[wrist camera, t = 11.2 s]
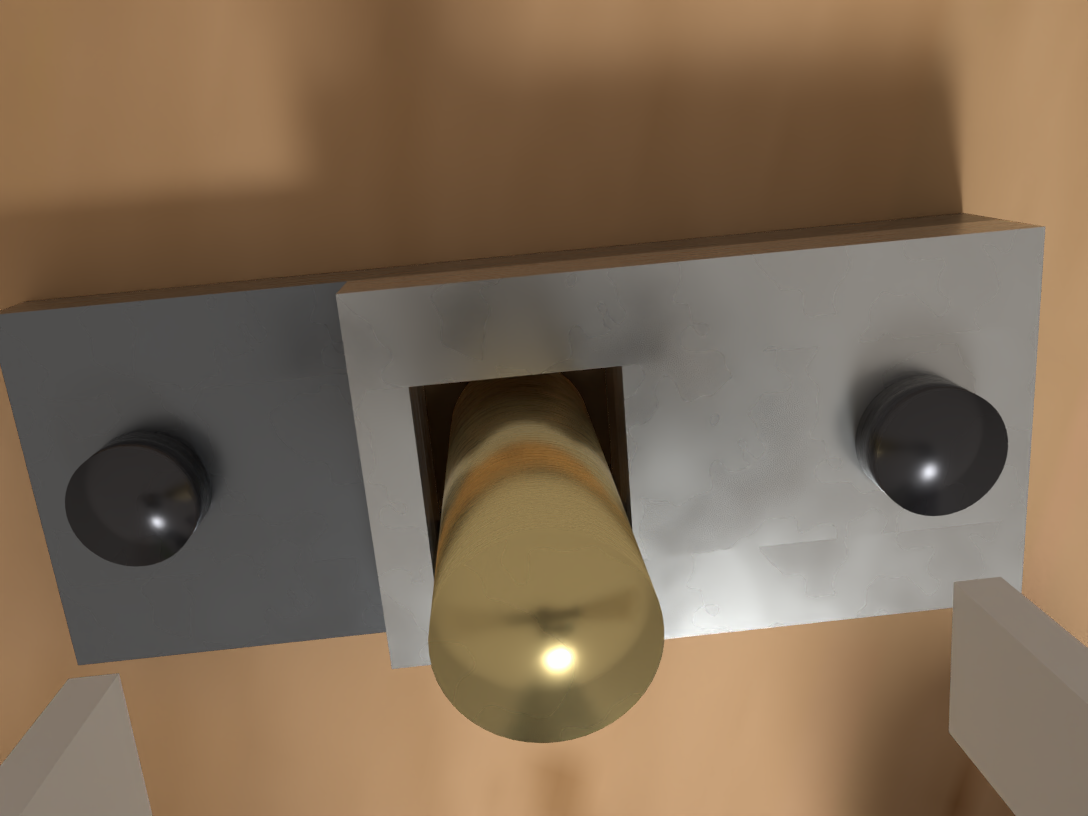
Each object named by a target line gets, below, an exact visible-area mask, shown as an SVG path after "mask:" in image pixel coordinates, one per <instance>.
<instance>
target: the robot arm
mask: <svg viewBox="0 0 1088 816" xmlns="http://www.w3.org/2000/svg"><path fill="white" fill-rule="evenodd" d="M949 733H950V734H951V736H952V737H953V738H954V739H955V741H956V742H957V743H958V744H959V746H960V747H961V748H962V749H963V751H964V752H965V753H966V754H967V756H968V757H969V758H970V759H971V761H972V762H973V763H974V764H975V766H976V767H977V768H978V769H979V771H980V772H981V773H982V774H983V776H984V777H985V778H986V779H987V781H988V782H989V783H990V784H991V786H992V787H993V788H994V789H995V791H996V792H997V793H998V794H999V796H1000V797H1001V798H1002V799H1003V801H1004V802H1005V803H1006V804H1007V806H1008V807H1009V808H1010V809H1011V810H1012V812H1013V813H1014V814H1015V815H1016V816H1088V648H1087V647H1086V646H1084V645H1083V644H1082V643H1081V642H1080V641H1078V640H1077V639H1076V638H1075V637H1074V636H1072V635H1071V634H1070V633H1069V632H1067V631H1066V630H1065V629H1064V628H1063V627H1061V626H1060V625H1059V624H1058V623H1056V622H1055V621H1054V620H1053V619H1052V618H1050V617H1049V616H1048V615H1047V614H1046V613H1044V612H1043V611H1042V610H1041V609H1039V608H1038V607H1037V606H1036V605H1035V604H1033V603H1032V602H1031V601H1030V600H1028V599H1027V598H1026V597H1025V596H1024V595H1022V594H1021V593H1020V592H1019V591H1018V590H1016V589H1015V588H1014V587H1013V586H1011V585H1010V584H1009V583H1008V582H1007V581H1005V580H1004V579H1003V578H1002V577H993V578H984V579H975V580H966V581H957V582H954V588H953V618H952V648H951V679H950V709H949ZM0 816H153V815H152V811H151V807H150V803H149V798H148V794H147V790H146V786H145V781H144V777H143V773H142V769H141V764H140V760H139V756H138V752H137V747H136V743H135V739H134V735H133V730H132V726H131V722H130V717H129V713H128V709H127V705H126V700H125V696H124V692H123V688H122V683H121V679H120V675H119V673H116V674H107V675H98V676H89V677H80V678H71V679H68V680H67V681H66V683H65V684H64V685H63V687H62V688H61V689H60V690H59V692H58V693H57V694H56V695H55V697H54V698H53V699H52V701H51V702H50V703H49V704H48V706H47V707H46V708H45V709H44V711H43V712H42V713H41V715H40V716H39V717H38V718H37V720H36V721H35V722H34V723H33V725H32V726H31V727H30V729H29V730H28V731H27V732H26V734H25V735H24V736H23V737H22V739H21V740H20V741H19V743H18V744H17V745H16V746H15V748H14V749H13V750H12V751H11V753H10V754H9V755H8V757H7V758H6V759H5V760H4V762H3V763H2V764H1V765H0Z"/></svg>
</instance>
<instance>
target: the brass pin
mask: <svg viewBox="0 0 1088 816" xmlns="http://www.w3.org/2000/svg"><path fill="white" fill-rule="evenodd" d="M663 646H664V621H663V614H662V611H661V607H660V604H659V600H658V598H657V595H656V592H655V590H654V587H653V584H652V582H651V579H650V576H649V574H648V571H647V568H646V566H645V563H644V560H643V558H642V555H641V552H640V550H639V547H638V544H637V542H636V539H635V536H634V534H633V531H632V528H631V526H630V523H629V520H628V518H627V515H626V513H625V510H624V507H623V505H622V502H621V499H620V497H619V494H618V491H617V489H616V486H615V483H614V481H613V478H612V475H611V473H610V470H609V467H608V465H607V462H606V459H605V457H604V454H603V451H602V449H601V446H600V443H599V441H598V438H597V435H596V433H595V430H594V427H593V425H592V422H591V419H590V417H589V414H588V411H587V409H586V406H585V404H584V401H583V399H582V397H581V395H580V393H579V392H578V390H577V389H576V387H575V386H574V385H573V384H572V383H571V382H570V381H569V380H568V379H567V378H566V377H565V376H564V375H562V374H561V373H559V372H555V373H545V374H535V375H525V376H514V377H504V378H494V379H484V380H474V381H471V382H470V383H469V384H468V385H467V386H466V387H465V389H464V390H463V391H462V393H461V394H460V396H459V398H458V400H457V402H456V405H455V408H454V411H453V415H452V422H451V431H450V440H449V449H448V459H447V468H446V477H445V486H444V495H443V504H442V514H441V523H440V532H439V541H438V550H437V559H436V569H435V578H434V587H433V596H432V605H431V614H430V624H429V635H428V647H429V657H430V661H431V666H432V669H433V672H434V675H435V677H436V680H437V682H438V684H439V686H440V687H441V689H442V691H443V693H444V694H445V696H446V697H447V698H448V699H449V701H450V702H451V703H452V705H453V706H454V707H455V708H456V709H457V710H458V711H459V712H460V713H461V714H463V715H464V716H465V717H466V718H468V719H469V720H470V721H472V722H473V723H475V724H476V725H478V726H480V727H481V728H483V729H485V730H487V731H489V732H492V733H494V734H496V735H499V736H502V737H506V738H509V739H512V740H518V741H524V742H534V743H549V742H560V741H566V740H572V739H575V738H579V737H582V736H586V735H588V734H591V733H593V732H595V731H598V730H600V729H602V728H604V727H605V726H607V725H609V724H611V723H613V722H614V721H615V720H617V719H618V718H620V717H621V716H622V715H624V714H625V713H626V712H627V711H628V710H629V709H630V708H631V707H632V706H634V705H635V704H636V702H637V701H638V700H639V699H640V698H641V696H642V695H643V694H644V693H645V691H646V690H647V688H648V687H649V685H650V683H651V682H652V680H653V678H654V676H655V674H656V671H657V669H658V667H659V663H660V660H661V657H662V652H663Z"/></svg>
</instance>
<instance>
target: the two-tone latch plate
mask: <svg viewBox="0 0 1088 816" xmlns="http://www.w3.org/2000/svg"><path fill="white" fill-rule="evenodd" d="M1044 239H1045V226H1039V225H1033V224H1026V223H1020V222H1014V221H1008V220H1002V219H996V218H990V217H984V216H978V215H972V214H966V213H959V214H949V215H938V216H928V217H917V218H906V219H896V220H885V221H875V222H864V223H853V224H843V225H832V226H822V227H811V228H800V229H790V230H779V231H769V232H758V233H748V234H737V235H726V236H716V237H705V238H695V239H684V240H673V241H663V242H652V243H642V244H631V245H620V246H610V247H599V248H589V249H578V250H567V251H557V252H546V253H536V254H525V255H514V256H504V257H493V258H483V259H472V260H461V261H451V262H440V263H430V264H419V265H408V266H398V267H387V268H377V269H366V270H355V271H345V272H334V273H324V274H313V275H302V276H292V277H281V278H271V279H260V280H249V281H239V282H228V283H218V284H207V285H196V286H186V287H175V288H165V289H154V290H143V291H133V292H122V293H112V294H101V295H90V296H80V297H69V298H59V299H48V300H37V301H27V302H23V303H20V304H17V305H15V306H12V307H9V308H6V309H4V310H1V311H0V365H1V369H2V373H3V377H4V380H5V384H6V388H7V392H8V396H9V400H10V404H11V408H12V411H13V415H14V419H15V423H16V427H17V431H18V435H19V439H20V442H21V446H22V450H23V454H24V458H25V462H26V466H27V470H28V473H29V477H30V481H31V485H32V489H33V493H34V497H35V500H36V504H37V508H38V512H39V516H40V520H41V524H42V528H43V531H44V535H45V539H46V543H47V547H48V551H49V555H50V559H51V562H52V566H53V570H54V574H55V578H56V582H57V586H58V589H59V593H60V597H61V601H62V605H63V609H64V613H65V617H66V620H67V624H68V628H69V632H70V636H71V640H72V644H73V648H74V651H75V655H76V659H77V663H78V665H85V664H95V663H104V662H113V661H122V660H132V659H141V658H150V657H159V656H169V655H178V654H187V653H196V652H206V651H215V650H224V649H233V648H243V647H252V646H261V645H270V644H279V643H289V642H298V641H307V640H316V639H326V638H335V637H344V636H353V635H363V634H372V633H381V632H386V633H387V640H388V646H389V653H390V660H391V666H392V669H397V668H406V667H415V666H424V665H431V661H430V657H429V647H428V635H429V624H430V614H431V605H432V596H433V587H434V578H435V569H436V559H437V550H438V541H439V532H440V523H441V518H440V510H439V502H438V494H437V486H436V479H435V471H434V463H433V455H432V447H431V439H430V431H429V423H428V415H427V408H426V400H425V392H424V385H434V384H444V383H454V382H464V381H474V380H484V379H494V378H504V377H514V376H525V375H535V374H545V373H555V372H565V371H575V370H585V369H595V368H605V382H606V396H607V411H608V425H609V439H610V454H611V468H612V478H613V481H614V483H615V486H616V489H617V491H618V494H619V497H620V499H621V502H622V505H623V507H624V510H625V513H626V515H627V518H628V520H629V523H630V526H631V528H632V531H633V534H634V536H635V539H636V542H637V544H638V547H639V550H640V552H641V555H642V558H643V560H644V563H645V566H646V568H647V571H648V574H649V576H650V579H651V582H652V584H653V587H654V590H655V592H656V595H657V598H658V600H659V604H660V607H661V611H662V614H663V621H664V639H671V638H680V637H689V636H698V635H707V634H716V633H726V632H735V631H744V630H753V629H762V628H771V627H780V626H789V625H799V624H808V623H817V622H826V621H835V620H844V619H853V618H862V617H872V616H881V615H890V614H899V613H908V612H917V611H926V610H935V609H945V608H953V588H954V582H957V581H966V580H975V579H984V578H993V577H1002V578H1003V579H1004V580H1005V581H1007V582H1008V583H1009V584H1010V585H1011V586H1013V587H1014V588H1015V589H1016V590H1018V591H1019V592H1020V593H1021V590H1022V575H1023V560H1024V545H1025V529H1026V514H1027V499H1028V484H1029V468H1030V453H1031V438H1032V422H1033V407H1034V392H1035V377H1036V361H1037V346H1038V331H1039V316H1040V300H1041V285H1042V270H1043V255H1044Z"/></svg>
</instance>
